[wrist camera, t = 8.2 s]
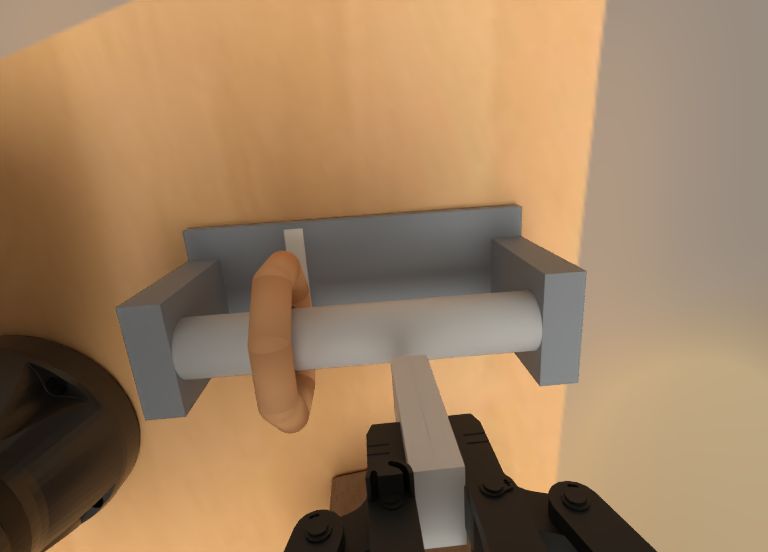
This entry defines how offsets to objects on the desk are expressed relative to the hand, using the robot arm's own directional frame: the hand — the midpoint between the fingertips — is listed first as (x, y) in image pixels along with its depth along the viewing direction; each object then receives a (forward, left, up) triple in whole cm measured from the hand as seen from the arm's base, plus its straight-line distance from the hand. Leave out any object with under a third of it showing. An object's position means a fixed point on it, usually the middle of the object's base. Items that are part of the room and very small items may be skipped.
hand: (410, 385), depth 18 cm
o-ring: (-6, 0, -9) cm, 11 cm away
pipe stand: (-2, 0, -13) cm, 13 cm away
